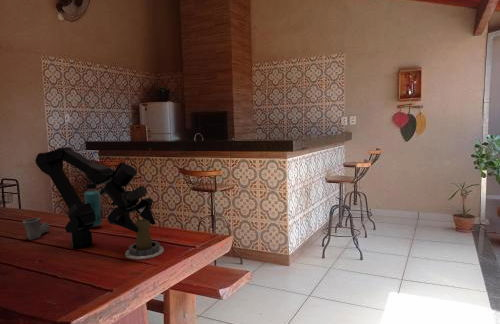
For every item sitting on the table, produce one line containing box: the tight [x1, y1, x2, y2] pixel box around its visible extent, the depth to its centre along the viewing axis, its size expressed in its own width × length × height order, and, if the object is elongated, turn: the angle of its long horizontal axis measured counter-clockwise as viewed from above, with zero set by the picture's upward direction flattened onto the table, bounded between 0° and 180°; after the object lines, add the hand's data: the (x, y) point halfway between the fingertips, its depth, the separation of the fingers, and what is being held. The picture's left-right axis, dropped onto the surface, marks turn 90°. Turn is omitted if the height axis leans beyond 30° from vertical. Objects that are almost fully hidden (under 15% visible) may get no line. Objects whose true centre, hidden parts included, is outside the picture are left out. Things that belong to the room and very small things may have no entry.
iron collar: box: [124, 240, 165, 261], centre depth 132 cm, size 13×13×3 cm
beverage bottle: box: [83, 182, 103, 227], centre depth 165 cm, size 6×7×20 cm
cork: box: [134, 219, 153, 249], centre depth 131 cm, size 6×6×11 cm
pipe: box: [22, 217, 51, 241], centre depth 155 cm, size 6×13×8 cm, turn 176°
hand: (146, 227), depth 131 cm, fingers open, 9 cm apart
